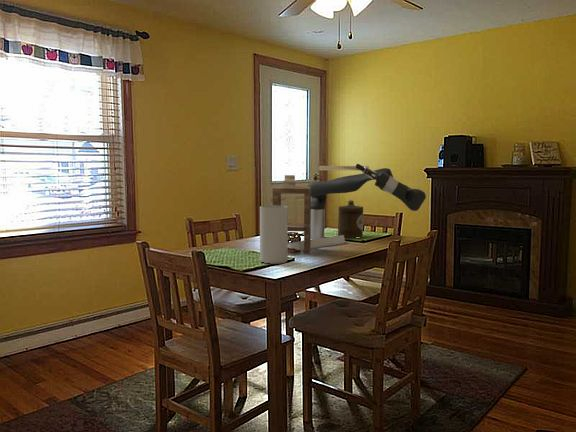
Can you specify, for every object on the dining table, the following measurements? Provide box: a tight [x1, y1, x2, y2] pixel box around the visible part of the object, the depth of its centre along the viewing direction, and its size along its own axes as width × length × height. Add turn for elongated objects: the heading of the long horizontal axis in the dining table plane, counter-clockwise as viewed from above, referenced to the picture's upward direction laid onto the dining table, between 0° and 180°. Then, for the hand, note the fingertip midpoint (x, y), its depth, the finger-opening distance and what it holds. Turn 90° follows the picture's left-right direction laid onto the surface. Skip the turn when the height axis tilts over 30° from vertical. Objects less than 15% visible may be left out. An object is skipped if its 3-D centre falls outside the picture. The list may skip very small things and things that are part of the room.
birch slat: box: [318, 165, 370, 171], centre depth 252 cm, size 4×24×2 cm, turn 85°
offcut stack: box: [282, 174, 296, 187], centre depth 262 cm, size 4×6×6 cm
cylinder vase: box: [259, 204, 289, 265], centre depth 232 cm, size 12×12×25 cm
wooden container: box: [337, 199, 364, 239], centre depth 307 cm, size 15×15×22 cm
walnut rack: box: [272, 186, 312, 255], centre depth 260 cm, size 16×18×32 cm
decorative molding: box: [288, 235, 346, 251], centre depth 278 cm, size 34×5×10 cm
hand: (356, 165), depth 251 cm, fingers closed on birch slat, 4 cm apart
